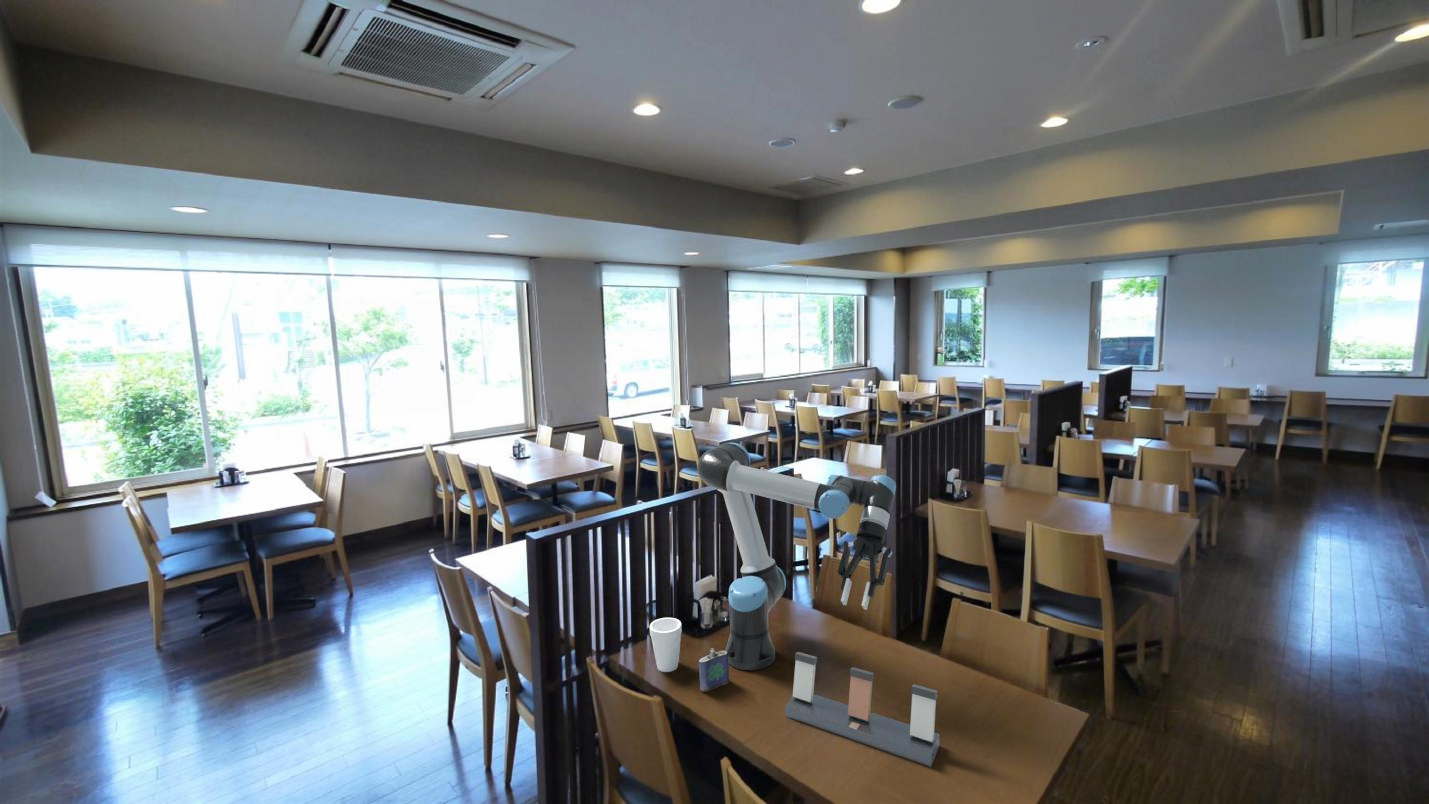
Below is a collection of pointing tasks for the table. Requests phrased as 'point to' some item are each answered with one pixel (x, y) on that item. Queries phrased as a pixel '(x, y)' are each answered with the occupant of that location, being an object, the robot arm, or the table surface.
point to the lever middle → (860, 693)
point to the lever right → (923, 712)
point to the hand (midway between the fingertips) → (853, 605)
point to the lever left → (804, 676)
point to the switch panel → (864, 728)
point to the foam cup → (666, 643)
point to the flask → (713, 670)
